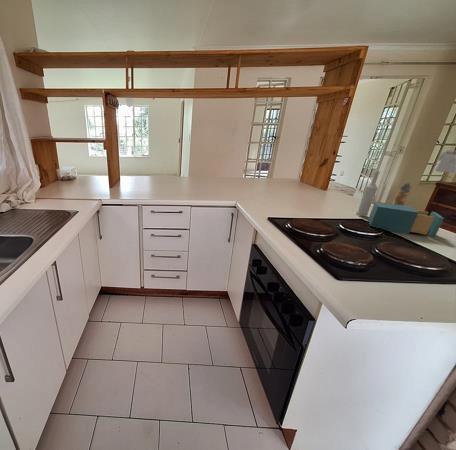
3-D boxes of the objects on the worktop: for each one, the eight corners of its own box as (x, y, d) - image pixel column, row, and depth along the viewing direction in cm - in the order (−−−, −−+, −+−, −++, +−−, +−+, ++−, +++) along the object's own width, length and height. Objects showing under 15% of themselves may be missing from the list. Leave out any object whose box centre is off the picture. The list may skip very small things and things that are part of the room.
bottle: (353, 213, 137) (368, 170, 129) (363, 214, 137) (379, 171, 128) (359, 216, 132) (375, 171, 124) (369, 217, 132) (386, 172, 123)
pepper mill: (397, 220, 128) (413, 182, 121) (398, 222, 124) (415, 184, 117) (385, 218, 131) (400, 181, 123) (386, 220, 127) (402, 182, 120)
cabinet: (402, 226, 118) (411, 206, 114) (408, 234, 108) (418, 212, 104) (367, 220, 126) (374, 201, 122) (370, 227, 115) (378, 206, 112)
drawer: (430, 230, 112) (439, 212, 109) (438, 237, 103) (448, 218, 100) (391, 223, 120) (398, 206, 117) (396, 230, 110) (403, 212, 107)
